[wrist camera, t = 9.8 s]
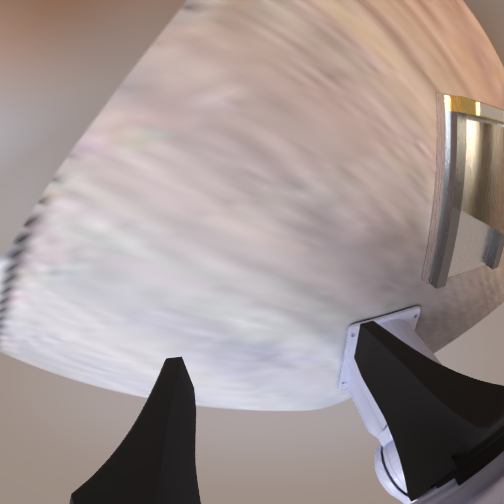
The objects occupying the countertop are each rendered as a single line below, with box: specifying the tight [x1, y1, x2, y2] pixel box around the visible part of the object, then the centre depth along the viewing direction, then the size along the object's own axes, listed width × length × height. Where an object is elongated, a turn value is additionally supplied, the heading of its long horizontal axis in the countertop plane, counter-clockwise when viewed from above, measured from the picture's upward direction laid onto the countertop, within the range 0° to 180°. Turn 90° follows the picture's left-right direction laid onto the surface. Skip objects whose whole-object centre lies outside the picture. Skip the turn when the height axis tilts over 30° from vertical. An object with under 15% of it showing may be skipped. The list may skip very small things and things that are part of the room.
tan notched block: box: [466, 121, 504, 234], centre depth 16 cm, size 8×4×5 cm, turn 6°
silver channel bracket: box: [421, 93, 504, 289], centre depth 19 cm, size 16×11×3 cm
